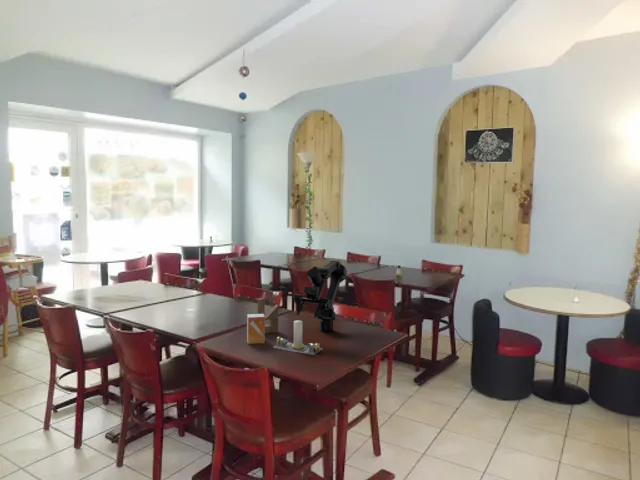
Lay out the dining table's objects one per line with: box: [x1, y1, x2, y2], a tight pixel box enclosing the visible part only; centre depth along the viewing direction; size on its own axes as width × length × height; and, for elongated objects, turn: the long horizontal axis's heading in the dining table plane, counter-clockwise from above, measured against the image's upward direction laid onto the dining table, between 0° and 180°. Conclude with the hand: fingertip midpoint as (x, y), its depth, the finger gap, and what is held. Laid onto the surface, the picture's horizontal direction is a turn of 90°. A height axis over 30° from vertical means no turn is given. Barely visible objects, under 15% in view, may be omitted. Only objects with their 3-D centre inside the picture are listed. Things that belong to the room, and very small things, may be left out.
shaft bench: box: [272, 336, 323, 356], centre depth 217 cm, size 21×9×4 cm, turn 64°
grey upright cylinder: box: [292, 319, 305, 349], centre depth 217 cm, size 6×6×12 cm
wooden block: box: [256, 297, 279, 334], centre depth 241 cm, size 4×11×18 cm, turn 113°
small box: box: [246, 313, 266, 345], centre depth 226 cm, size 8×6×13 cm
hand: (305, 316), depth 223 cm, fingers open, 9 cm apart
